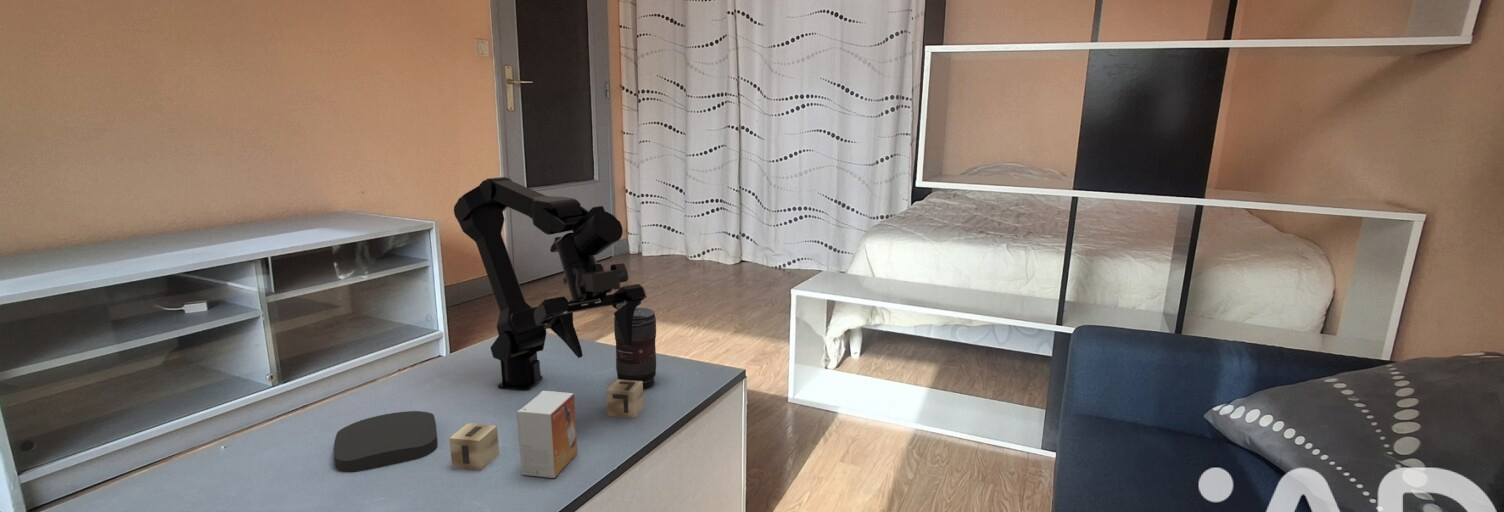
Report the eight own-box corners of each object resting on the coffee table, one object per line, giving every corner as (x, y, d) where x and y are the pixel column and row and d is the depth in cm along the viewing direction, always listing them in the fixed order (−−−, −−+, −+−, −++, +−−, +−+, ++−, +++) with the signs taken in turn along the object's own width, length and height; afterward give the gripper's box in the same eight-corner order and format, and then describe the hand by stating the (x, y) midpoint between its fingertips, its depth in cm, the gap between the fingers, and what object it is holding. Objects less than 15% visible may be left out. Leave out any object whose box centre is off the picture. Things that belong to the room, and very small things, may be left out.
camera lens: (662, 388, 134) (660, 315, 131) (621, 394, 131) (618, 320, 128) (652, 373, 141) (649, 304, 138) (613, 379, 138) (609, 308, 135)
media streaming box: (333, 479, 102) (330, 461, 102) (339, 437, 115) (337, 421, 114) (439, 456, 109) (438, 439, 108) (434, 419, 121) (432, 404, 121)
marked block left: (451, 468, 105) (448, 437, 104) (470, 451, 110) (467, 422, 109) (481, 471, 104) (478, 440, 103) (499, 454, 109) (496, 425, 108)
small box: (554, 479, 102) (550, 414, 99) (520, 475, 103) (515, 411, 100) (578, 453, 109) (575, 392, 107) (546, 449, 110) (542, 389, 108)
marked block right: (607, 416, 122) (606, 389, 121) (617, 404, 127) (616, 378, 126) (634, 418, 121) (633, 392, 120) (643, 406, 126) (642, 380, 125)
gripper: (544, 254, 106) (572, 349, 103) (647, 242, 118) (674, 326, 115) (522, 280, 114) (546, 368, 111) (619, 265, 126) (645, 345, 123)
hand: (605, 351), depth 115 cm, fingers open, 9 cm apart
